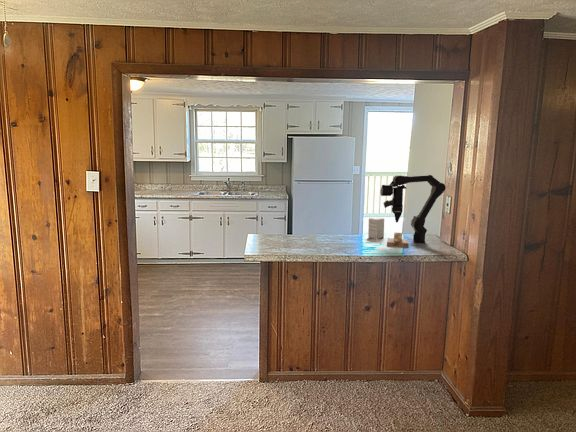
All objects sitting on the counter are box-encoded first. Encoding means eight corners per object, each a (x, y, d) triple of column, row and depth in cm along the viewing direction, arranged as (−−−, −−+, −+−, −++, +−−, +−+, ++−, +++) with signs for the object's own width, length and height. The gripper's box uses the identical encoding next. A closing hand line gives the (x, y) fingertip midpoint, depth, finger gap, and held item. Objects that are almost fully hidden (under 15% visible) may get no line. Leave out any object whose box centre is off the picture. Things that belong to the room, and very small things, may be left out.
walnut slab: (407, 244, 254) (407, 239, 253) (407, 248, 242) (408, 243, 242) (387, 242, 257) (387, 238, 257) (386, 247, 246) (387, 242, 245)
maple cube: (401, 240, 251) (402, 232, 250) (401, 241, 246) (401, 234, 246) (394, 239, 252) (394, 232, 251) (393, 241, 248) (394, 233, 247)
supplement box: (375, 235, 277) (375, 217, 275) (384, 237, 271) (384, 218, 269) (367, 237, 272) (368, 218, 270) (376, 238, 266) (377, 219, 264)
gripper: (385, 194, 264) (384, 218, 267) (383, 197, 246) (382, 223, 249) (403, 194, 261) (402, 219, 264) (403, 197, 244) (401, 223, 246)
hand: (396, 221), depth 256 cm, fingers open, 9 cm apart
